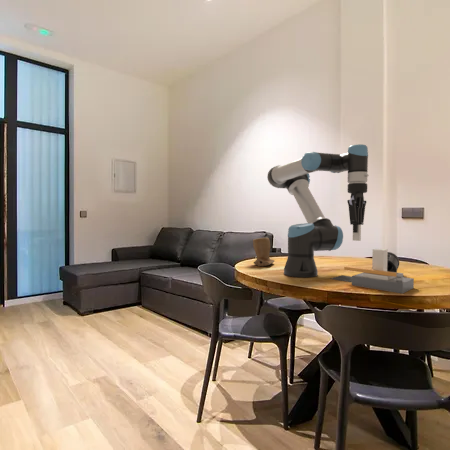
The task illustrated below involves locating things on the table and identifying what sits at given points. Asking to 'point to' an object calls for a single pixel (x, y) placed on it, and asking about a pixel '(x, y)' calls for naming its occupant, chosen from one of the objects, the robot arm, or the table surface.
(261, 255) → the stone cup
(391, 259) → the muzzle brake
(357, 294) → the table surface
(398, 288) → the socket block
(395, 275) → the tan wooden bar
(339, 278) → the mat
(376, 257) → the plug
